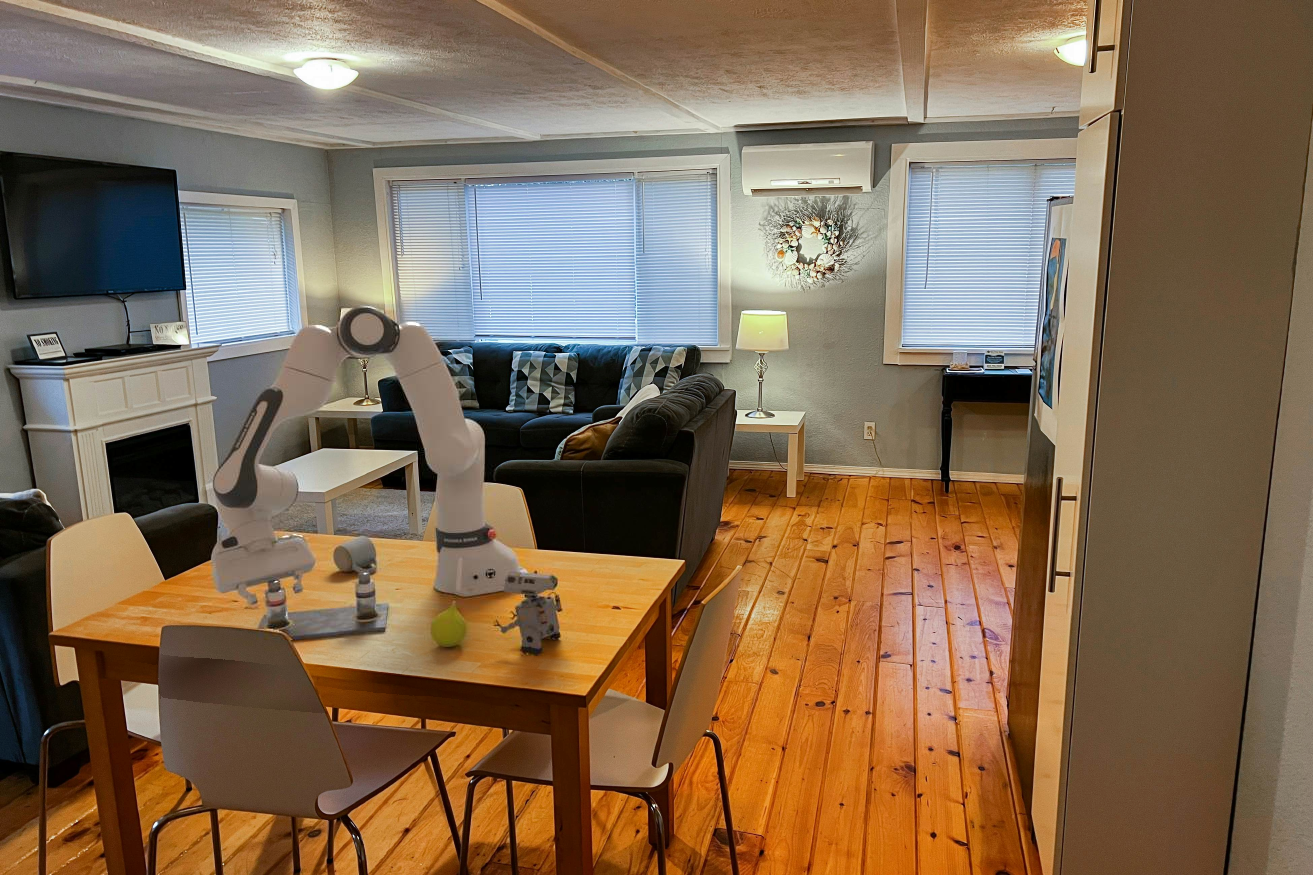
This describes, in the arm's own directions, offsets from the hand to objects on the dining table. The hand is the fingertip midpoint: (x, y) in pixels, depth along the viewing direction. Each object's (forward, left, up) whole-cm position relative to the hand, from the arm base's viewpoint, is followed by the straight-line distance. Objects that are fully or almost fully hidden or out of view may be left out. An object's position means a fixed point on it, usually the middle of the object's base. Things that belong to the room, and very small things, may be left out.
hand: (276, 597), depth 194 cm
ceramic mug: (-13, -37, -8) cm, 40 cm away
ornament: (-35, +17, -7) cm, 40 cm away
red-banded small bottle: (0, -1, -6) cm, 6 cm away
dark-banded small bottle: (-18, -1, -6) cm, 19 cm away
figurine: (-51, +21, -7) cm, 56 cm away
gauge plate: (-9, -1, -7) cm, 11 cm away
